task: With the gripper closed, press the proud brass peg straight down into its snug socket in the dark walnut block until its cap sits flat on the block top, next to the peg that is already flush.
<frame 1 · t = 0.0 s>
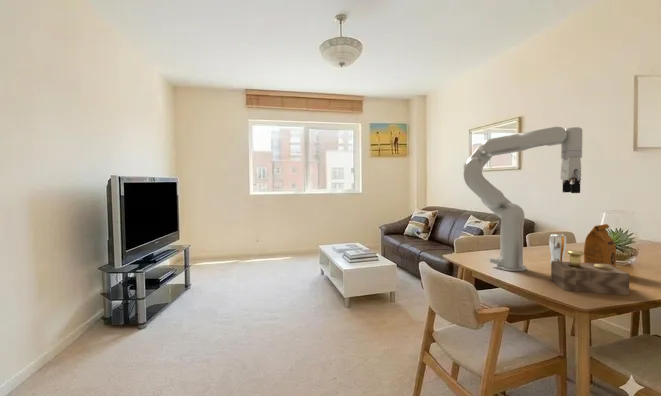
hand: (571, 192, 141), 37 cm above the table, tool pointing down, fingers open, 9 cm apart
coffee package: (600, 273, 140), on the table
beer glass: (557, 264, 155), on the table
brass peg: (575, 261, 123), point 10 cm above the table, slide at 5.0 cm
walnut block: (586, 286, 122), on the table
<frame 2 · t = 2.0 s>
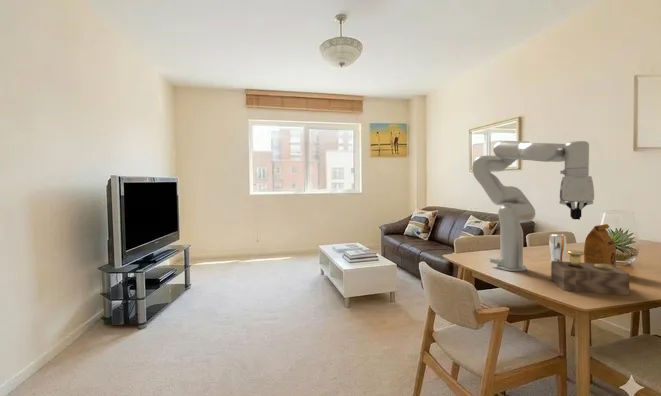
hand: (575, 219, 122), 27 cm above the table, tool pointing down, fingers closed
nothing on the table moved.
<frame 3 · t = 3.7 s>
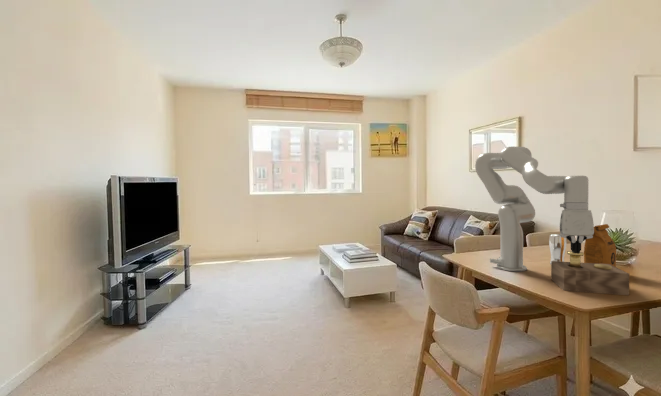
hand: (575, 252, 123), 14 cm above the table, tool pointing down, fingers closed
brass peg: (575, 261, 123), point 10 cm above the table, slide at 4.8 cm, touching gripper
everything else where it was.
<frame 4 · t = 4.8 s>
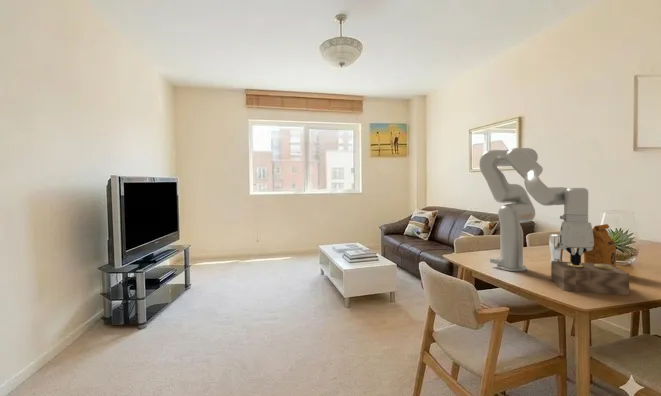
hand: (575, 264, 123), 9 cm above the table, tool pointing down, fingers closed
brass peg: (574, 273, 124), point 5 cm above the table, slide at 0.0 cm, touching gripper
everything else where it was.
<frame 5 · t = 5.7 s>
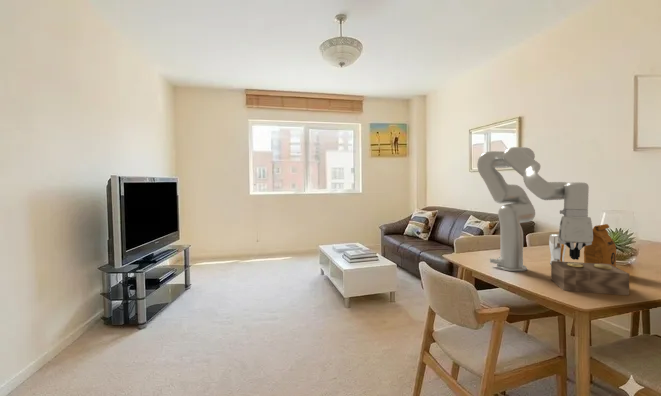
hand: (574, 258, 123), 11 cm above the table, tool pointing down, fingers closed
brass peg: (574, 273, 124), point 5 cm above the table, slide at 0.0 cm
everything else where it was.
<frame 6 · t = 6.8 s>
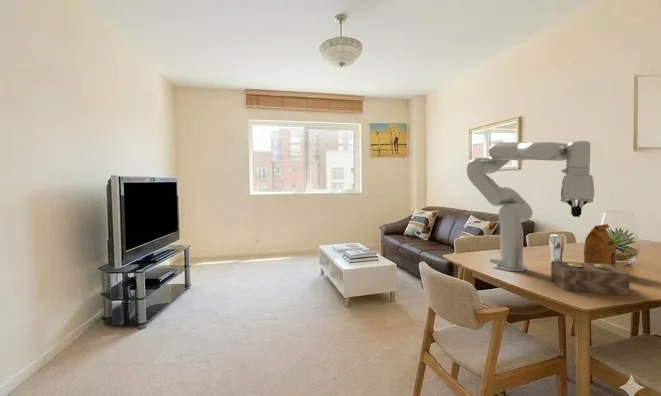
hand: (576, 216, 127), 28 cm above the table, tool pointing down, fingers closed
nothing on the table moved.
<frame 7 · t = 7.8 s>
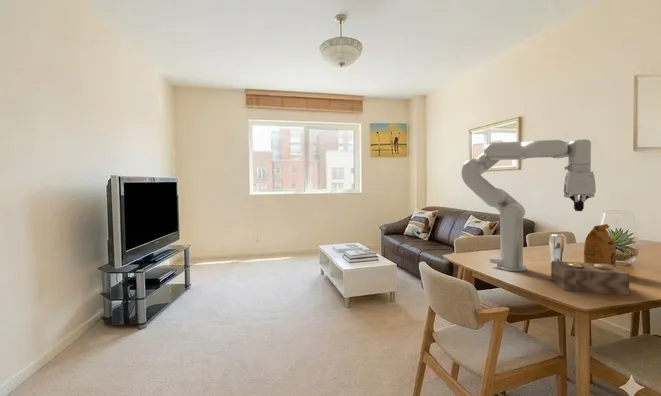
hand: (578, 210, 134), 29 cm above the table, tool pointing down, fingers closed
nothing on the table moved.
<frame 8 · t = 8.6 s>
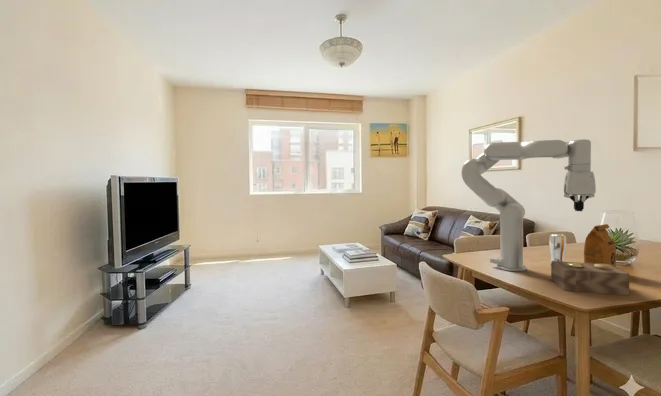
hand: (578, 210, 134), 29 cm above the table, tool pointing down, fingers closed
nothing on the table moved.
at the end: brass peg slide at 0.0 cm; brass peg touching nothing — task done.
